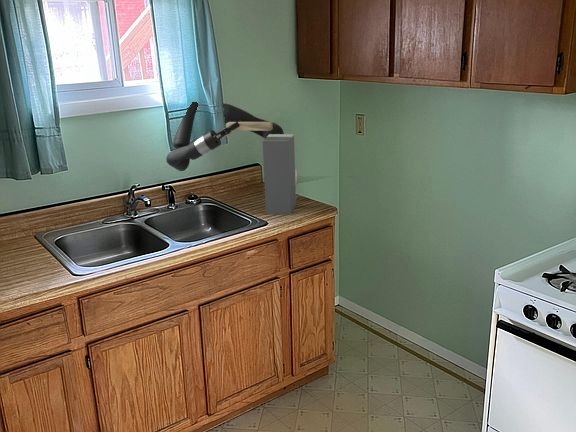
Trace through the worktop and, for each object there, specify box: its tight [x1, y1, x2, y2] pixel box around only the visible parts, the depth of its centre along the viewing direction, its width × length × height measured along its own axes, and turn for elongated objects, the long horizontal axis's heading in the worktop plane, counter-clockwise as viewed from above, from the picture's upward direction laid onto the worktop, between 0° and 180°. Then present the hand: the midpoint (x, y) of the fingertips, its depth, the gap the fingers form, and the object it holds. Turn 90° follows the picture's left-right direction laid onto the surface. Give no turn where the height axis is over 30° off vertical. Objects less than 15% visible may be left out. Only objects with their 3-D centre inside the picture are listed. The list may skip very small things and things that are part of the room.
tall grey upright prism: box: [262, 133, 297, 215], centre depth 257 cm, size 14×11×32 cm
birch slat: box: [225, 121, 273, 132], centre depth 250 cm, size 4×19×3 cm, turn 80°
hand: (239, 122), depth 250 cm, fingers closed on birch slat, 4 cm apart
